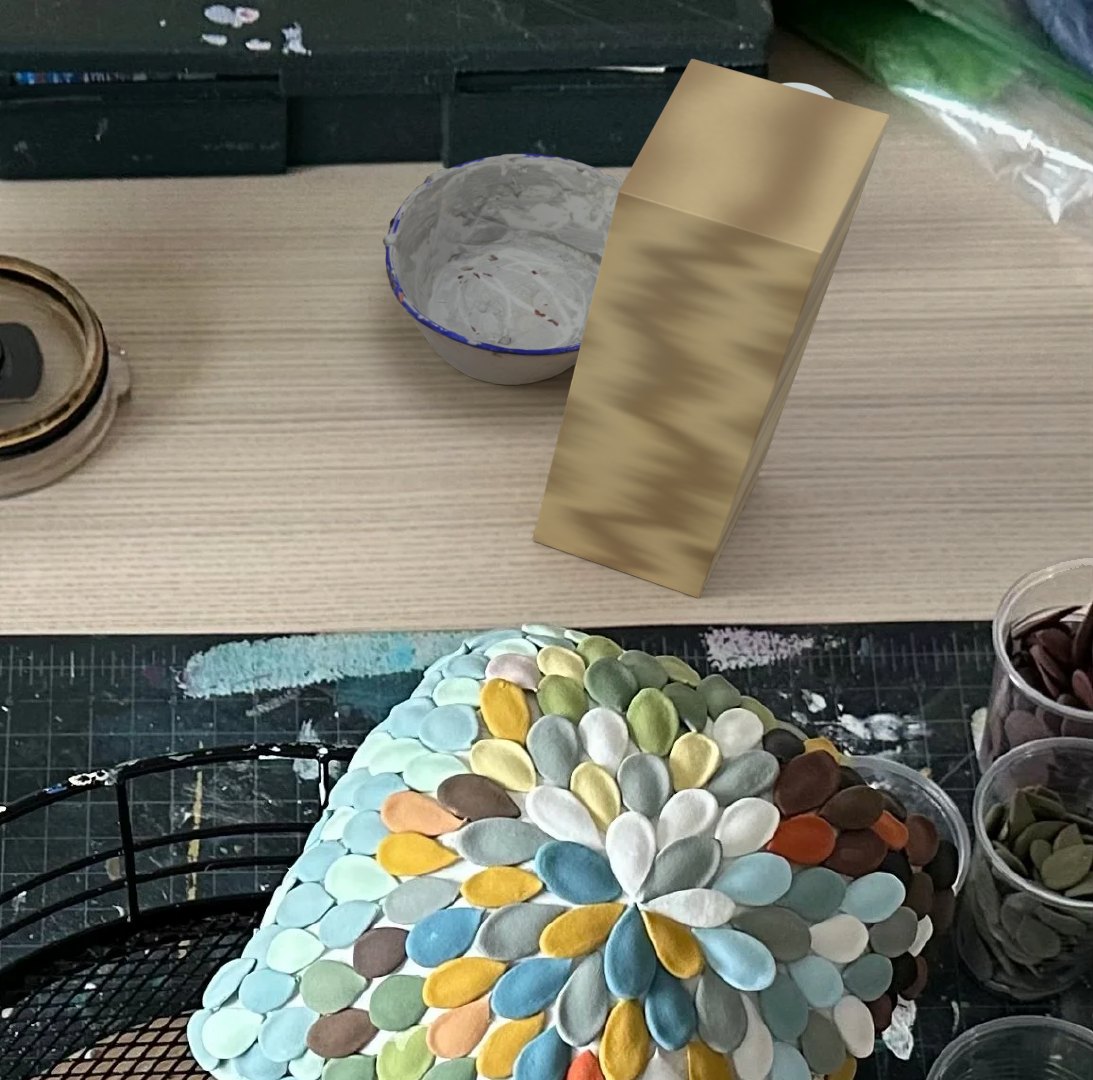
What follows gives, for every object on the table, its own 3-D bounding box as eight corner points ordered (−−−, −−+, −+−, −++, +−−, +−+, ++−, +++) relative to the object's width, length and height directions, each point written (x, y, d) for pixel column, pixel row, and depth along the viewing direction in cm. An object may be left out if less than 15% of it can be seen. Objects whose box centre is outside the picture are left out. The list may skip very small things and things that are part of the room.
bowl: (406, 443, 108) (418, 368, 104) (350, 250, 114) (359, 170, 110) (676, 402, 108) (699, 325, 104) (606, 211, 114) (626, 130, 110)
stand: (759, 474, 106) (891, 114, 88) (699, 599, 103) (822, 253, 85) (595, 420, 108) (691, 57, 90) (532, 541, 105) (618, 191, 87)
